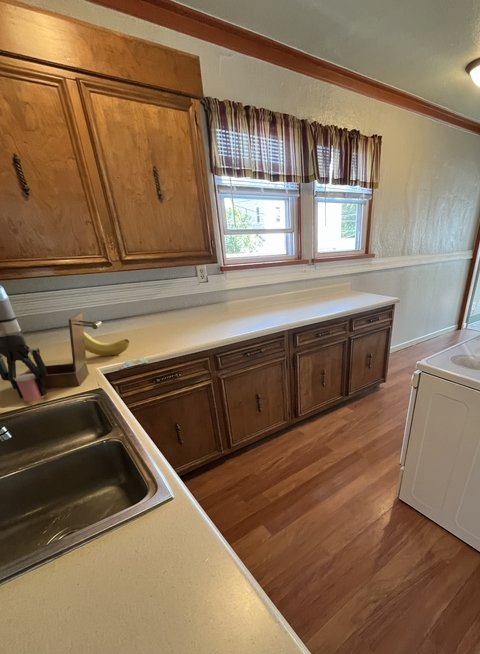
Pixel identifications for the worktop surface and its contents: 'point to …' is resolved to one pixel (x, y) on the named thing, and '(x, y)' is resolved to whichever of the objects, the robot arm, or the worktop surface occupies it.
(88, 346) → the banana
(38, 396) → the liner stack
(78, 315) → the lid
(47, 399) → the worktop surface
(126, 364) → the baking ingredient package
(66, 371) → the brown wooden box
